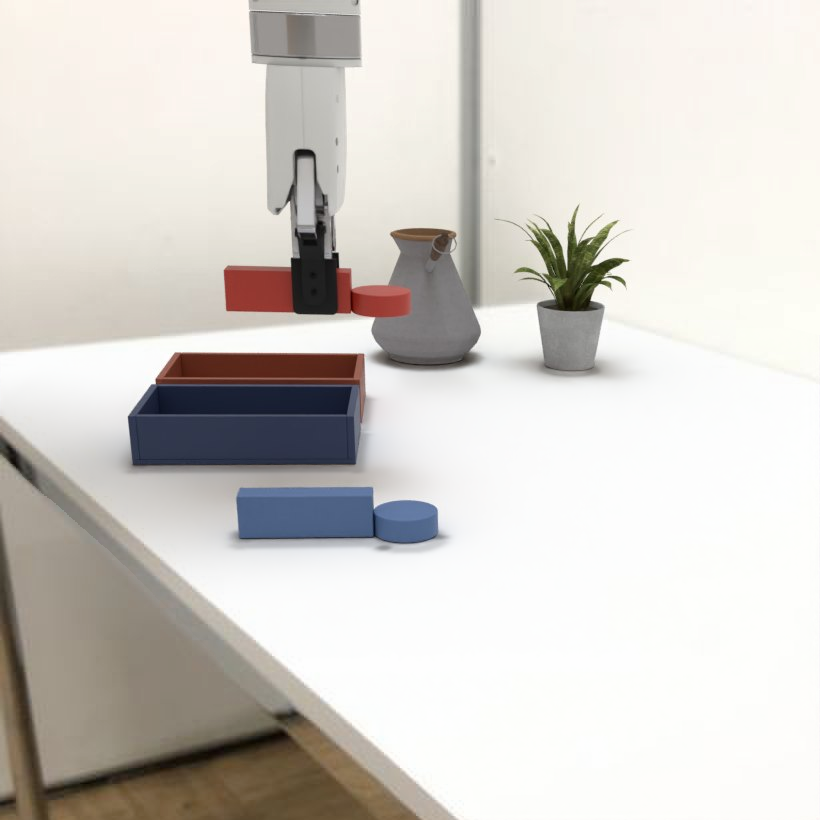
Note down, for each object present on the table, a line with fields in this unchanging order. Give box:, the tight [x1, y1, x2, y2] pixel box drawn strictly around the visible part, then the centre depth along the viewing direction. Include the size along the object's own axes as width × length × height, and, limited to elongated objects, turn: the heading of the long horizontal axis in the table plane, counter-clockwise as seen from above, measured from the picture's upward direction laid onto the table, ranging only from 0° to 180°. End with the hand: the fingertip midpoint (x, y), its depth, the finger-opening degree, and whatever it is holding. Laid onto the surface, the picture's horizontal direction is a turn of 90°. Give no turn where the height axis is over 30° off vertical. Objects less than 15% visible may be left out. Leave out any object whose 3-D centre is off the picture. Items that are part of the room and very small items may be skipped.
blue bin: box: [127, 383, 362, 466], centre depth 111 cm, size 17×10×4 cm, turn 97°
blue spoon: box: [235, 486, 439, 544], centre depth 93 cm, size 13×4×3 cm, turn 97°
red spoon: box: [223, 265, 411, 318], centre depth 100 cm, size 13×4×3 cm, turn 96°
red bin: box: [154, 351, 367, 424], centre depth 122 cm, size 17×10×4 cm, turn 97°
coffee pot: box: [370, 227, 482, 365], centre depth 136 cm, size 21×12×15 cm, turn 14°
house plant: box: [495, 203, 634, 371], centre depth 139 cm, size 14×14×16 cm
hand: (317, 308), depth 101 cm, fingers closed on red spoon, 2 cm apart
